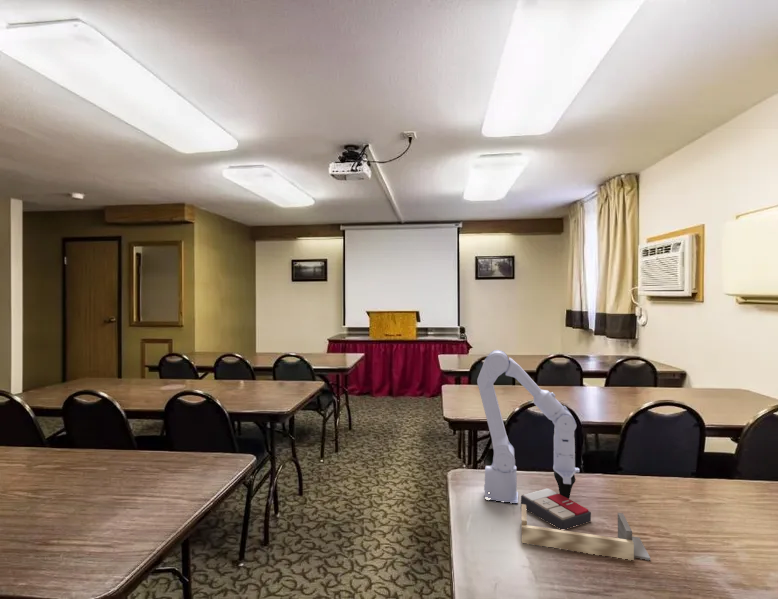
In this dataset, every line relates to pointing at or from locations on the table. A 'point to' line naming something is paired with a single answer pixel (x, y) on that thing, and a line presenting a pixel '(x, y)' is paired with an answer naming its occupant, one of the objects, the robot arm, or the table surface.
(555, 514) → the calculator
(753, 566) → the table surface
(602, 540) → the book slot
